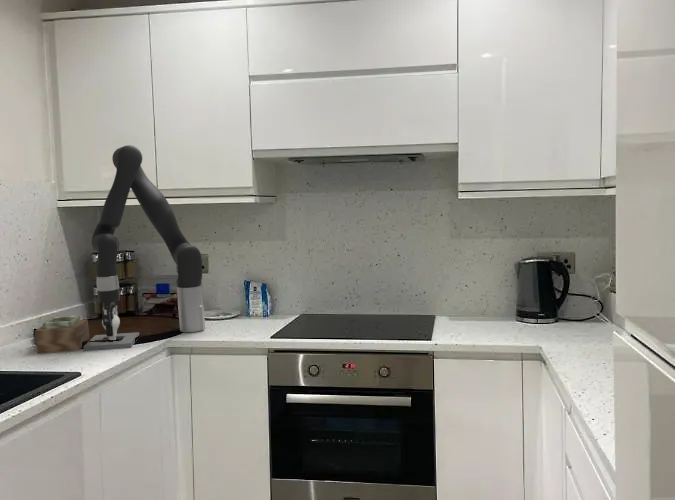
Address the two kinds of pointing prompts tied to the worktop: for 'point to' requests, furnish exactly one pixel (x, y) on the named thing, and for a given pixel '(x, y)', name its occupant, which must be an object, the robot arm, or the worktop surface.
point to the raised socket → (62, 334)
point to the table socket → (124, 343)
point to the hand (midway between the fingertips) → (112, 333)
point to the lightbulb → (115, 326)
